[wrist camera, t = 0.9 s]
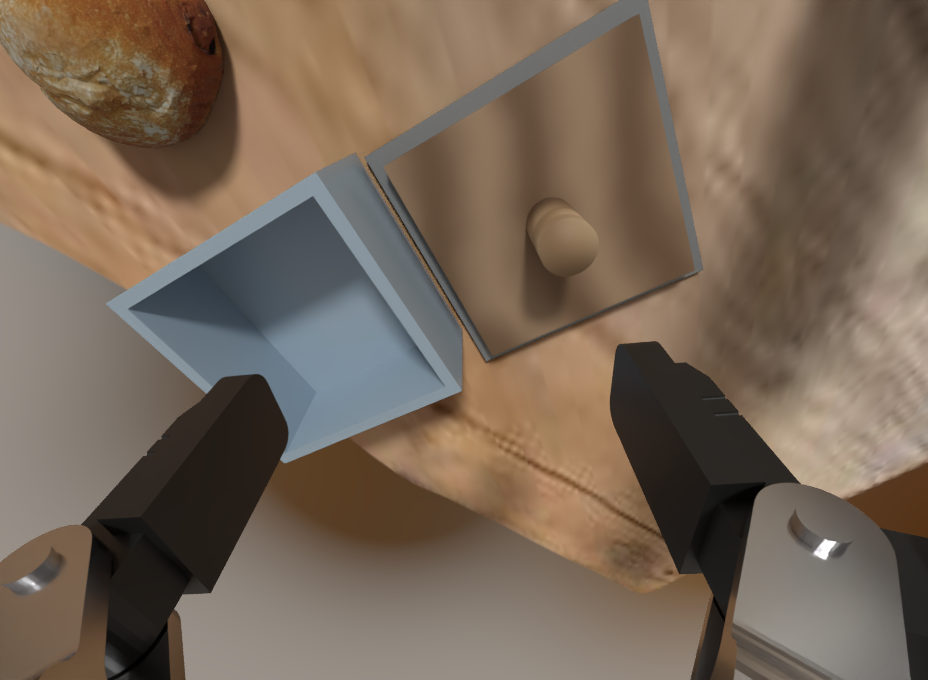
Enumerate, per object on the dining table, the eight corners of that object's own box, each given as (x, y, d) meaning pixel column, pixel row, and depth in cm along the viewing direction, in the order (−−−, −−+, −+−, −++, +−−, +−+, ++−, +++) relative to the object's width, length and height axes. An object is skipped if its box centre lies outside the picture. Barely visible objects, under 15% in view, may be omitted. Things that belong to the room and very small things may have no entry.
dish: (355, 152, 25) (315, 172, 18) (462, 329, 32) (462, 390, 25) (190, 255, 29) (105, 303, 22) (318, 394, 36) (284, 463, 29)
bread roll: (77, 6, 24) (-82, 29, 19) (95, -174, 18) (-141, -212, 12) (215, 147, 28) (115, 197, 23) (272, 45, 22) (149, 84, 17)
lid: (630, 17, 21) (692, -13, 16) (686, 264, 29) (742, 304, 23) (386, 164, 25) (363, 183, 19) (491, 348, 33) (498, 400, 27)
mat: (641, -13, 21) (644, -15, 21) (699, 267, 29) (703, 269, 29) (366, 156, 25) (364, 157, 25) (486, 358, 34) (486, 361, 33)
